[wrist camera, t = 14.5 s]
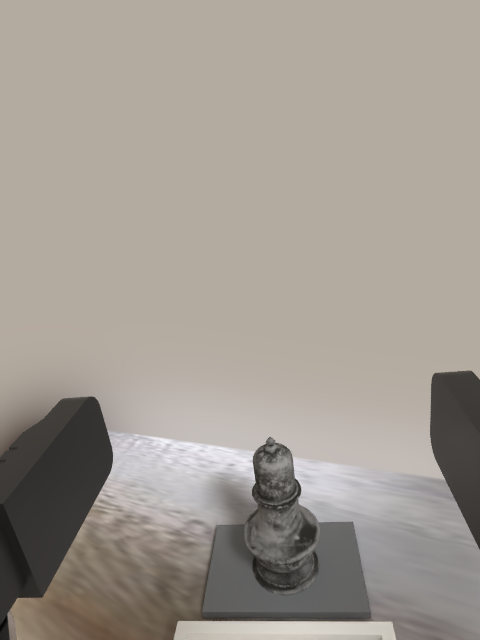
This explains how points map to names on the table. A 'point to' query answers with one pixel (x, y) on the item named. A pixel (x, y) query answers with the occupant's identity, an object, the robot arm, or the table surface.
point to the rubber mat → (314, 602)
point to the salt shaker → (280, 525)
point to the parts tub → (283, 630)
